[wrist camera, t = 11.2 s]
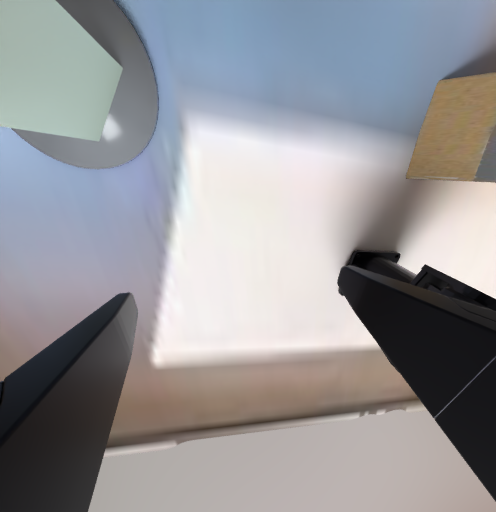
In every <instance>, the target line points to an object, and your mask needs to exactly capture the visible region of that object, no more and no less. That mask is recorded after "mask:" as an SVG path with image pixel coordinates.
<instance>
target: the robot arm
mask: <svg viewBox="0 0 496 512" xmlns="http://www.w3.org/2000/svg"><path fill="white" fill-rule="evenodd" d="M357 254H358V255H357ZM399 258H400V253H398V252H391V251H366V250H356V251H355V252H354V253H353V255H352V257H351V260H350V263H349V265H348V266H343V267H342V268H341V271H340V274H339V277H338V282H337V283H338V286H339V288H340V289H339V293H340V294H341V295H342V296H345V297H346V299H347V301H348V302H349V304H350V306H351V307H352V309H353V310H354V312H355V313H356V315H357V316H358V318H359V319H360V320H361V322H362V323H363V324H364V326H365V327H366V328H367V330H368V331H369V332H370V334H371V335H372V336H373V338H374V339H375V340H376V342H377V343H378V345H379V346H380V348H381V349H382V351H383V352H384V354H385V355H386V357H387V359H388V360H389V362H390V363H391V364H392V365H393V366H394V367H395V369H396V370H397V371H398V372H399V373H400V374H401V375H402V376H403V378H404V379H405V380H406V382H407V383H408V384H409V386H410V387H411V388H412V390H413V391H414V392H415V394H416V395H417V397H418V398H419V399H420V401H421V402H422V403H423V405H424V406H425V407H426V409H427V410H428V411H429V412H430V414H431V415H432V417H433V418H435V421H436V422H437V424H438V425H439V426H440V427H441V429H442V430H443V432H444V433H445V434H446V436H447V437H448V438H449V440H450V441H451V442H452V444H453V445H454V446H455V448H456V449H457V450H458V452H459V453H460V454H461V456H462V457H463V458H464V460H465V461H466V462H467V464H468V465H469V466H470V467H471V469H472V470H473V472H474V473H475V475H476V476H477V477H478V479H479V480H480V481H481V482H482V484H483V485H484V487H485V488H486V489H487V491H488V492H489V493H490V495H491V496H492V497H493V499H494V500H495V501H496V299H494V298H492V297H490V296H488V295H486V294H484V293H482V292H480V291H478V290H476V289H474V288H472V287H470V286H468V285H466V284H464V283H462V282H460V281H458V280H456V279H454V278H452V277H450V276H448V275H446V274H444V273H442V272H440V271H438V270H436V269H434V268H432V267H429V266H427V265H424V266H423V267H422V268H421V269H422V270H421V271H420V272H419V273H418V274H417V275H416V274H414V273H412V272H410V271H409V270H407V269H405V268H403V267H402V266H400V265H398V264H397V262H398V260H399ZM137 317H138V309H137V306H136V303H135V300H134V297H133V294H132V293H130V292H129V293H120V294H118V295H116V296H115V297H113V298H112V299H111V300H109V301H108V302H107V303H105V304H104V305H103V306H101V307H100V308H99V309H97V310H96V311H95V312H93V313H92V314H91V315H89V316H88V317H87V318H85V319H84V320H83V321H81V322H80V323H79V324H77V325H76V326H74V327H73V328H72V329H70V330H69V331H68V332H66V333H65V334H64V335H62V336H61V337H60V338H58V339H57V340H56V341H54V342H53V343H52V344H50V345H49V346H48V347H46V348H45V349H44V350H42V351H41V352H40V353H38V354H37V355H35V356H34V357H33V358H31V359H30V360H29V361H27V362H26V363H25V364H23V365H22V366H21V367H19V368H18V369H17V370H15V371H14V372H13V373H11V374H10V375H9V376H7V377H6V378H5V379H4V381H1V382H0V512H88V509H89V505H90V502H91V499H92V495H93V492H94V488H95V484H96V481H97V477H98V473H99V470H100V466H101V463H102V459H103V456H104V452H105V449H106V445H107V441H108V438H109V434H110V431H111V427H112V423H113V420H114V416H115V413H116V409H117V406H118V402H119V398H120V395H121V391H122V388H123V384H124V380H125V377H126V373H127V370H128V366H129V363H130V359H131V355H132V350H133V343H134V337H135V330H136V324H137Z"/></svg>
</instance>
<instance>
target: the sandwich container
mask: <svg viewBox="0 0 496 512" xmlns="http://www.w3.org/2000/svg"><path fill="white" fill-rule="evenodd" d="M406 178H407V179H429V180H452V181H475V182H496V72H493V73H486V74H479V75H472V76H465V77H459V78H452V79H445V80H440V81H439V82H438V84H437V86H436V89H435V91H434V94H433V97H432V100H431V102H430V105H429V108H428V111H427V113H426V116H425V119H424V122H423V124H422V127H421V130H420V133H419V136H418V139H417V142H416V145H415V149H414V152H413V155H412V158H411V162H410V165H409V168H408V171H407V175H406Z"/></svg>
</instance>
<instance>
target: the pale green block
mask: <svg viewBox="0 0 496 512" xmlns="http://www.w3.org/2000/svg"><path fill="white" fill-rule="evenodd" d="M122 70H123V68H122V67H121V66H120V65H119V64H118V63H117V62H116V61H115V60H114V59H113V58H112V57H111V56H110V55H109V54H108V53H107V52H106V51H105V50H104V49H103V48H102V47H101V46H100V45H99V44H98V43H97V42H96V40H95V39H94V38H93V37H92V36H91V35H90V34H89V33H88V32H87V31H86V30H85V29H84V28H83V27H82V26H81V25H80V24H79V23H78V22H77V21H76V20H75V19H74V18H73V17H72V16H71V15H70V14H69V13H68V12H67V11H66V10H65V9H64V8H63V7H62V6H61V5H60V4H59V3H58V2H57V1H56V0H0V126H1V127H8V128H15V129H21V130H28V131H34V132H41V133H47V134H54V135H60V136H67V137H73V138H80V139H86V140H93V141H99V140H100V137H101V134H102V131H103V128H104V125H105V122H106V119H107V116H108V113H109V110H110V107H111V103H112V100H113V97H114V94H115V91H116V88H117V85H118V82H119V79H120V76H121V73H122Z"/></svg>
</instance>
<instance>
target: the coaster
mask: <svg viewBox="0 0 496 512" xmlns="http://www.w3.org/2000/svg"><path fill="white" fill-rule="evenodd" d="M56 1H57V2H58V3H59V4H60V5H61V6H62V7H63V8H64V9H65V10H66V11H67V12H68V13H69V14H70V15H71V16H72V17H73V18H74V19H75V20H76V21H77V22H78V23H79V24H80V25H81V26H82V27H83V28H84V29H85V30H86V31H87V32H88V33H89V34H90V35H91V36H92V37H93V38H94V39H95V40H96V42H97V43H98V44H99V45H100V46H101V47H102V48H103V49H104V50H105V51H106V52H107V53H108V54H109V55H110V56H111V57H112V58H113V59H114V60H115V61H116V62H117V63H118V64H119V65H120V66H121V67H122V68H123V70H122V73H121V76H120V79H119V82H118V85H117V88H116V91H115V94H114V97H113V100H112V103H111V107H110V110H109V113H108V116H107V119H106V122H105V125H104V128H103V131H102V134H101V137H100V140H99V141H93V140H86V139H80V138H73V137H67V136H60V135H54V134H47V133H41V132H34V131H28V130H21V129H15V128H11V129H12V130H13V131H15V132H16V133H17V134H18V135H19V136H20V137H21V138H22V139H24V140H25V141H26V142H28V143H29V144H30V145H32V146H33V147H35V148H36V149H38V150H39V151H41V152H43V153H44V154H46V155H48V156H50V157H52V158H54V159H56V160H58V161H61V162H63V163H66V164H69V165H73V166H76V167H81V168H87V169H106V168H113V167H118V166H121V165H123V164H126V163H128V162H130V161H132V160H133V159H135V158H136V157H137V156H138V155H139V154H141V153H142V152H143V150H144V149H145V148H146V147H147V145H148V144H149V142H150V140H151V138H152V136H153V134H154V131H155V128H156V124H157V120H158V110H159V97H158V89H157V83H156V79H155V74H154V71H153V68H152V65H151V62H150V59H149V57H148V54H147V52H146V50H145V48H144V45H143V44H142V42H141V40H140V38H139V37H138V35H137V33H136V31H135V30H134V28H133V26H132V25H131V23H130V22H129V20H128V19H127V17H126V16H125V15H124V13H123V12H122V11H121V9H120V8H119V7H118V6H117V5H116V3H115V2H114V1H113V0H56Z"/></svg>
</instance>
